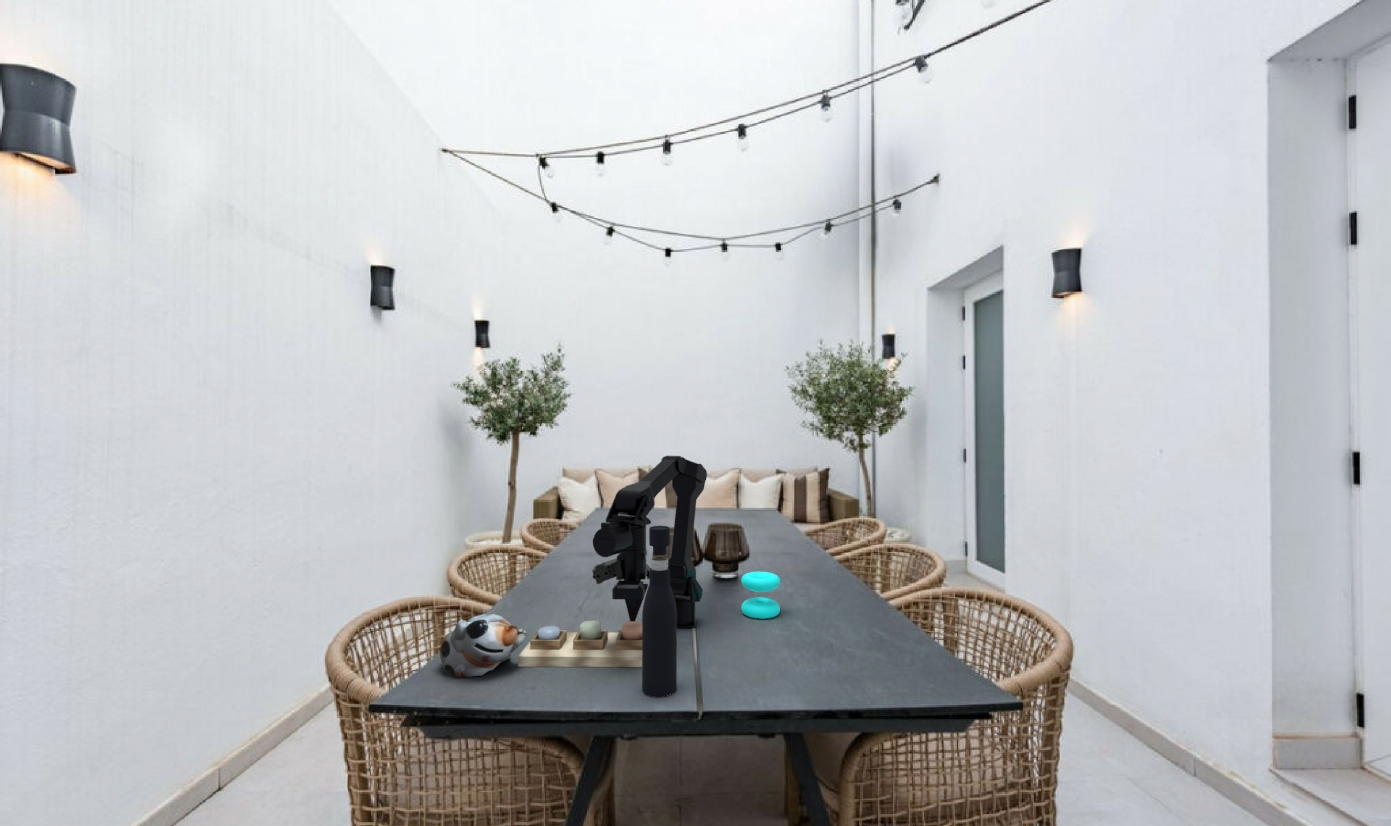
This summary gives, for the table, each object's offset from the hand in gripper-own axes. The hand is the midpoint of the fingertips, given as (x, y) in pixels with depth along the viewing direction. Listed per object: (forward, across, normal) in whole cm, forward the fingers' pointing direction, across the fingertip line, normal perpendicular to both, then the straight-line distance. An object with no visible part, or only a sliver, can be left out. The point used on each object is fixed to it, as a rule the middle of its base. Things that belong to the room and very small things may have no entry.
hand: (632, 620), depth 128 cm
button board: (+7, 0, -9) cm, 11 cm away
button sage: (+3, 0, -9) cm, 10 cm away
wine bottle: (+7, +17, +7) cm, 20 cm away
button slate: (+4, 0, -18) cm, 19 cm away
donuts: (+7, -27, +30) cm, 41 cm away
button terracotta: (+3, 0, 0) cm, 3 cm away
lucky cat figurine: (+7, +7, -29) cm, 31 cm away
